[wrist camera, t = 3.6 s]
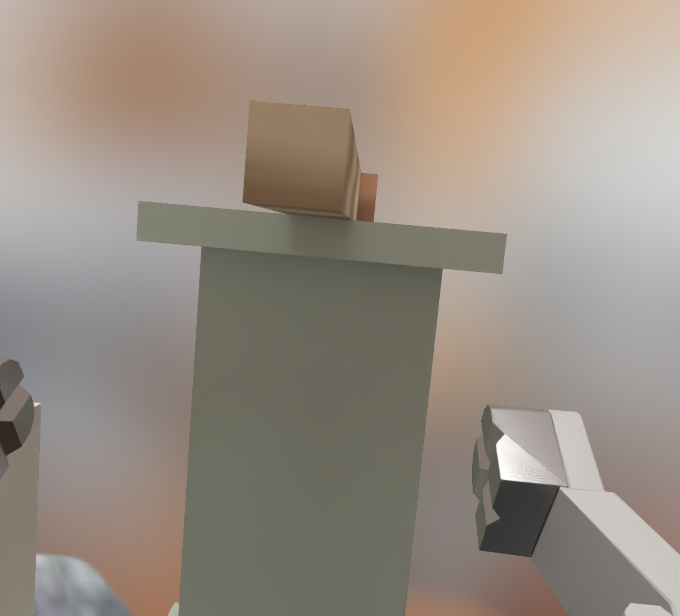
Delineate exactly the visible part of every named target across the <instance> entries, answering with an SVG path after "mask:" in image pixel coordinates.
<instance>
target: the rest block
mask: <svg viewBox="0 0 680 616" xmlns="http://www.w3.org/2000/svg"><path fill="white" fill-rule="evenodd" d="M34 416H35V418H34V421H33V425H32V428H31V432H30V434H29V436H28V438H27V439H26V441H25V443H24V444H23V446H22V447H20V448H19V449H17V450H15V451H14V452H12V453H11V454H9V455H7V459H8V464H9V467H8V469H7V470H6V472H5V474H4V475H3V477H2V478H1V480H0V616H34V599H35V569H36V540H37V511H38V481H39V451H40V423H41V403H34Z"/></svg>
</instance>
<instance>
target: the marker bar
mask: <svg viewBox="0 0 680 616" xmlns="http://www.w3.org/2000/svg"><path fill="white" fill-rule="evenodd" d="M377 178H378V175H377V174H366V173H361V169H360V164H359V158H358V153H357V148H356V141H355V136H354V130H353V125H352V119H351V113H350V109H343V108H330V107H317V106H306V105H294V104H282V103H270V102H258V101H250V105H249V119H248V134H247V148H246V162H245V176H244V190H243V202H244V203H247V204H252V205H255V206H259V207H263V208H266V209H270V210H274V211H278V212H281V213H285V214H289V215H300V216H311V217H322V218H333V219H344V220H356V221H367V222H374V211H375V199H376V189H377Z"/></svg>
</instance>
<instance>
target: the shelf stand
mask: <svg viewBox="0 0 680 616" xmlns="http://www.w3.org/2000/svg"><path fill="white" fill-rule="evenodd" d="M506 237H507V234H501V233H490V232H479V231H467V230H456V229H444V228H434V227H422V226H412V225H399V224H389V223H377V222H367V221H356V220H344V219H333V218H322V217H311V216H300V215H289V214H276V213H265V212H255V211H254V212H253V211H243V210H232V209H221V208H210V207H199V206H188V205H176V204H165V203H153V202H143V201H139V202H138V220H137V241H148V242H159V243H170V244H181V245H192V246H202V249H201V264H200V280H199V298H198V312H197V328H196V343H195V344H196V345H195V359H194V375H193V391H192V407H191V422H190V439H189V454H188V470H187V486H186V501H185V517H184V518H185V519H184V533H183V550H182V566H181V580H180V597H179V603H176V602H175V603H174V605H173V607H172V608H171V610H170V612H169V614H168V616H405V609H406V600H407V591H408V582H409V573H410V563H411V554H412V544H413V536H414V527H415V518H416V508H417V499H418V490H419V480H420V472H421V463H422V453H423V444H424V435H425V425H426V417H427V408H428V398H429V389H430V380H431V371H432V361H433V352H434V343H435V333H436V325H437V316H438V306H439V297H440V288H441V279H442V270H443V269H453V270H464V271H474V272H485V273H497V274H502V271H503V262H504V254H505V246H506Z"/></svg>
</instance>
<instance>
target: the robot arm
mask: <svg viewBox="0 0 680 616" xmlns="http://www.w3.org/2000/svg"><path fill="white" fill-rule="evenodd" d="M23 377H24V374H23V372H22V369H21V367H20V365H19V362H17V361H14V360H11V359H5V358H0V480H1V478H2V477H3V475H4V474H5V472H6V470H7V469H8V467H9V464H8V459H7V455H9V454H11V453H12V452H14V451H15V450H17V449H19V448H20V447H22V446H23V444H24V443H25V441H26V439H27V438H28V436H29V434H30V432H31V428H32V425H33V421H34V418H35V416H34V403H33V400H32V397H31V395H30V394H29V393H28V392H27V391H26V390H25V389H24V388H22V387H21V386H20V385H19V384H20V382H21V381H22V379H23ZM481 423H482V431H483V434H482V435H481V436H480V437H478V438H477V439H476V444H475V448H474V453H473V463H472V484H473V493H474V494H475V495H476V496H477V498H478V499H479V500H480V501H479V504H478V508H477V511H476V524H477V534H478V543H479V550H480V551H488V552H496V553H503V554H511V555H518V556H525V557H531V561H532V562H533V564H534V565H535V567H536V568H537V570H538V571H539V572H540V574H541V575H542V577H543V578H544V580H545V581H546V582H547V584H548V585H549V587H550V588H551V590H552V591H553V592H554V594H555V595H556V596H557V598H558V600H559V601H560V602H561V604H562V605H563V607H564V608H565V609H566V611H567V612H568V614H569V615H570V616H680V555H679V554H678V553H677V552H676V551H675V550H674V549H673V548H672V547H671V546H670V545H668V543H667V542H665V541H664V540H663V539H662V538H661V537H660V536H659V535H658V534H657V533H656V532H655V531H654V530H653V529H652V528H651V527H650V526H649V525H647V523H646V522H644V521H643V520H642V519H641V518H640V517H639V516H638V515H637V514H636V513H635V512H634V511H633V510H632V509H631V508H630V507H629V506H628V505H626V503H624V502H623V501H622V500H621V499H620V498H619V497H618V496H617V495H616V494H615V493H612V492H605V490H604V487H603V484H602V481H601V478H600V474H599V471H598V468H597V465H596V462H595V458H594V455H593V452H592V449H591V445H590V443H589V439H588V436H587V433H586V430H585V427H584V423H583V420H582V417H581V416H580V415H579V414H578V412H568V411H557V410H543V409H532V408H520V407H509V406H497V405H487V406H486V408H485V409H484V412H483V416H482V420H481Z"/></svg>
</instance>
